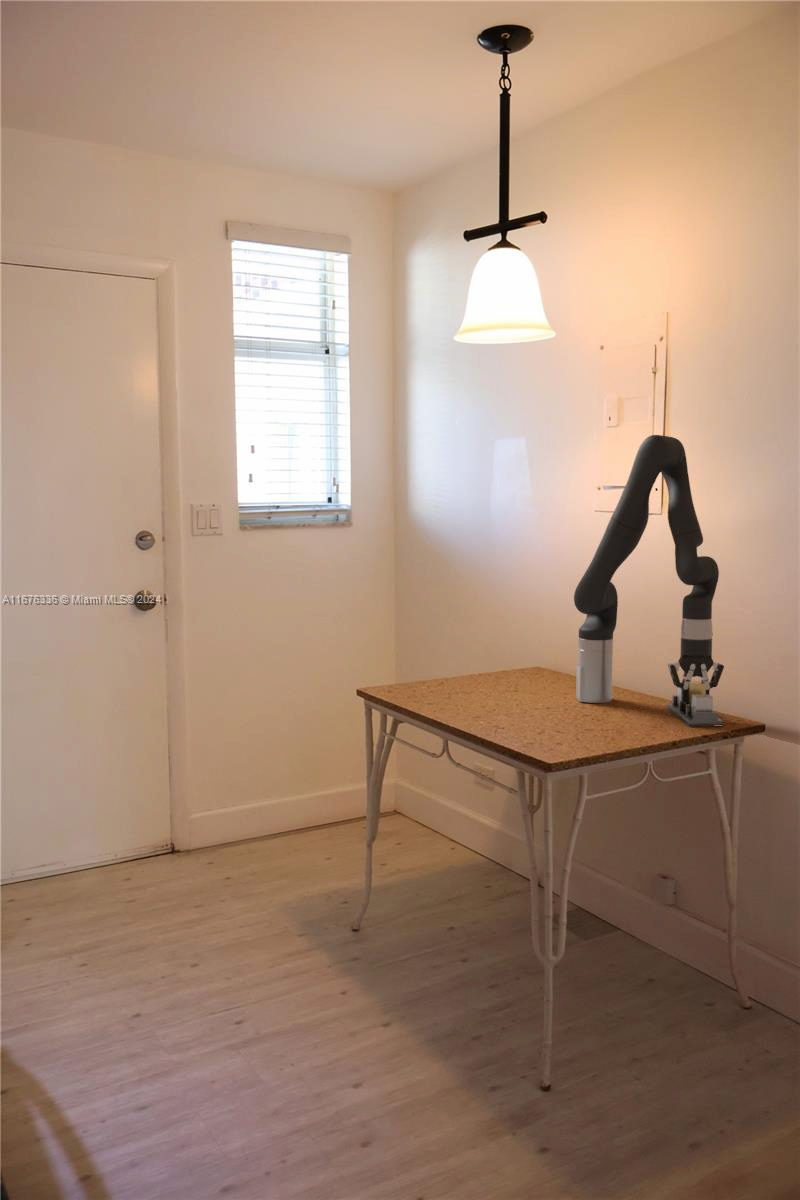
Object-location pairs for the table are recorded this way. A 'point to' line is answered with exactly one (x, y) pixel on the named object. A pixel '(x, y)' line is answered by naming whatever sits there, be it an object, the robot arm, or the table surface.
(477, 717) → the table surface
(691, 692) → the tan rectangular block
